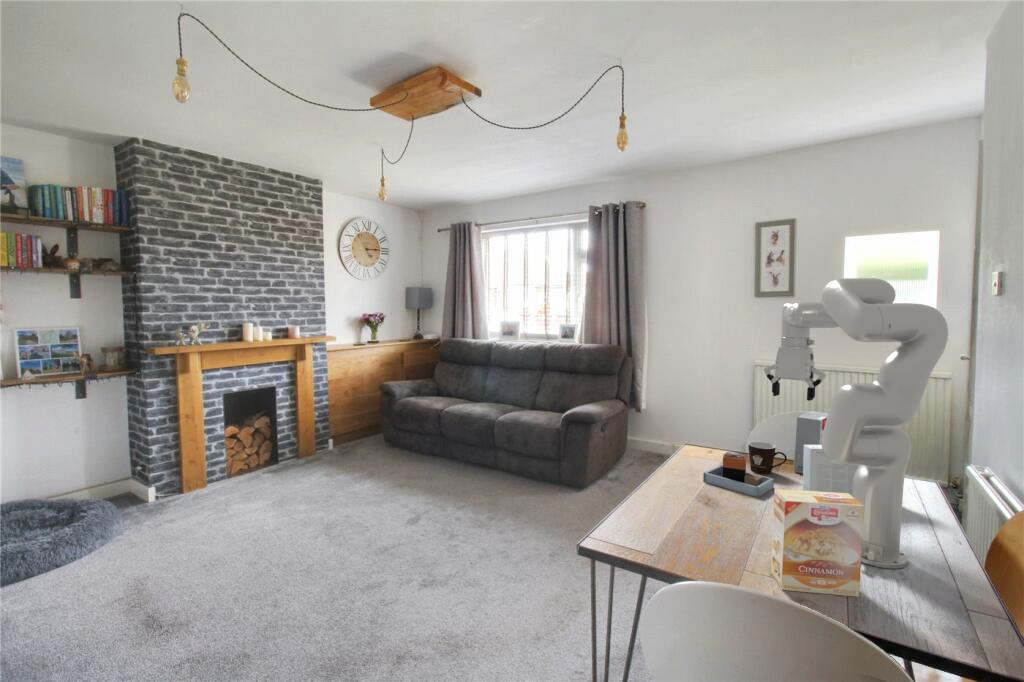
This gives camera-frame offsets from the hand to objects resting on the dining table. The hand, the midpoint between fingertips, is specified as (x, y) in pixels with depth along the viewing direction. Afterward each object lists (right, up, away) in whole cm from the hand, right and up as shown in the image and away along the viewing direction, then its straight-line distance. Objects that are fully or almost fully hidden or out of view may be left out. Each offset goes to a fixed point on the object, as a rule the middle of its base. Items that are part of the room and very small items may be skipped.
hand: (792, 397), depth 151 cm
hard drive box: (+20, -29, +23) cm, 42 cm away
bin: (-14, -30, +8) cm, 34 cm away
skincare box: (+14, -31, -2) cm, 34 cm away
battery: (-14, -29, +9) cm, 34 cm away
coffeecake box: (-23, -35, -47) cm, 63 cm away
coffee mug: (+1, -29, +19) cm, 35 cm away
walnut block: (-10, -30, +4) cm, 32 cm away
